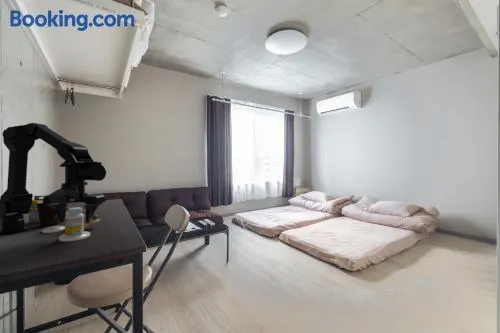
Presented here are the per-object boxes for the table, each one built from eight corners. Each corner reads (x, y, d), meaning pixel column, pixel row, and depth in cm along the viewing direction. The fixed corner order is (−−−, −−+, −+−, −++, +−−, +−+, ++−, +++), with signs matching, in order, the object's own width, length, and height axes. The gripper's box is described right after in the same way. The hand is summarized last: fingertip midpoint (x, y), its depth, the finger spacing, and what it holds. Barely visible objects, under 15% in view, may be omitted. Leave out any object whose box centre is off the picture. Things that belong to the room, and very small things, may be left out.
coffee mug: (47, 228, 92) (47, 203, 92) (31, 226, 94) (31, 202, 93) (75, 220, 103) (75, 199, 103) (59, 219, 105) (59, 198, 105)
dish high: (36, 233, 86) (36, 230, 86) (52, 227, 93) (52, 225, 93) (55, 233, 86) (55, 231, 86) (69, 227, 93) (69, 226, 93)
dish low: (51, 241, 77) (51, 239, 77) (72, 233, 86) (72, 231, 86) (78, 241, 77) (78, 239, 77) (95, 233, 86) (95, 231, 86)
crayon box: (28, 222, 99) (28, 196, 99) (34, 221, 102) (34, 195, 101) (45, 223, 99) (45, 196, 99) (51, 221, 102) (51, 195, 102)
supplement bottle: (71, 232, 84) (72, 206, 84) (87, 232, 85) (87, 207, 84) (60, 237, 79) (61, 209, 79) (77, 237, 79) (77, 210, 79)
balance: (52, 229, 90) (52, 207, 90) (63, 226, 95) (63, 204, 95) (94, 230, 90) (94, 207, 90) (102, 226, 95) (102, 205, 95)
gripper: (27, 181, 73) (27, 229, 73) (85, 182, 73) (84, 230, 74) (56, 178, 84) (56, 220, 85) (106, 179, 85) (106, 221, 85)
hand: (74, 222), depth 82 cm, fingers open, 9 cm apart
